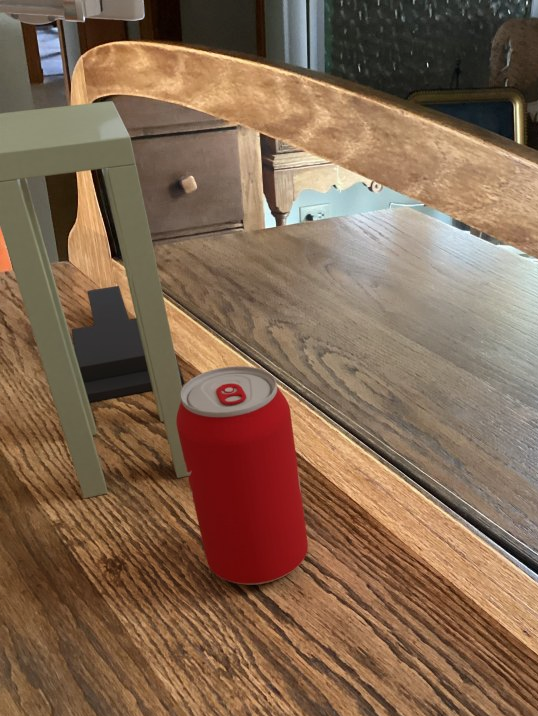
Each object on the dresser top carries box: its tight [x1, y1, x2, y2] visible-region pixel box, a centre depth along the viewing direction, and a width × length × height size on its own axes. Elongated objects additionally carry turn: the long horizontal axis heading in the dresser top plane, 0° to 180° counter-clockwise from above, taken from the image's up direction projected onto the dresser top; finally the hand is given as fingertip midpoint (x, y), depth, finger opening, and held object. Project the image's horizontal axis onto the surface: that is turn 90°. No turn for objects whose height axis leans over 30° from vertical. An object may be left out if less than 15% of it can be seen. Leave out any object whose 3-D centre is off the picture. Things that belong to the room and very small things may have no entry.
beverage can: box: [176, 365, 309, 586], centre depth 52 cm, size 6×6×12 cm
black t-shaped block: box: [70, 285, 148, 382], centre depth 80 cm, size 17×7×1 cm, turn 20°
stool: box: [0, 100, 188, 499], centre depth 59 cm, size 10×8×22 cm
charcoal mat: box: [84, 358, 185, 403], centre depth 76 cm, size 9×9×1 cm
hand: (9, 6), depth 70 cm, fingers open, 8 cm apart
